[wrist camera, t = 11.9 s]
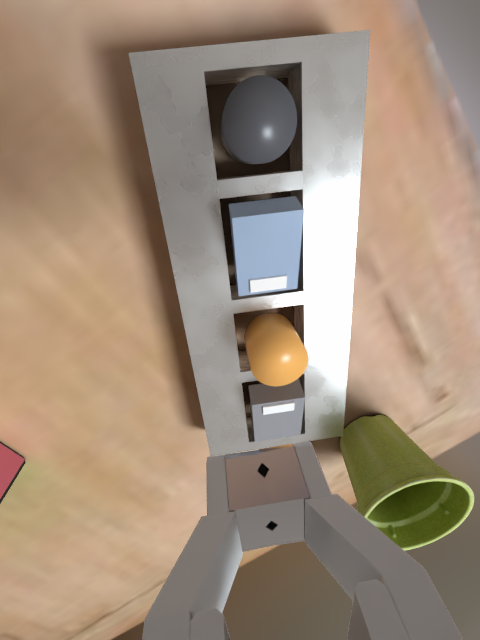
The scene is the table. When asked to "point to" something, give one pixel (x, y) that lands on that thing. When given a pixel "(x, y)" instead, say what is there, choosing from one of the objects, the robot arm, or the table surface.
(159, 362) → the table surface
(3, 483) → the puzzle cube
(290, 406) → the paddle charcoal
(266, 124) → the button black
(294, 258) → the rocker blue
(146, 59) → the panel
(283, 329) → the button orange
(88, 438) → the table surface
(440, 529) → the plant pot
